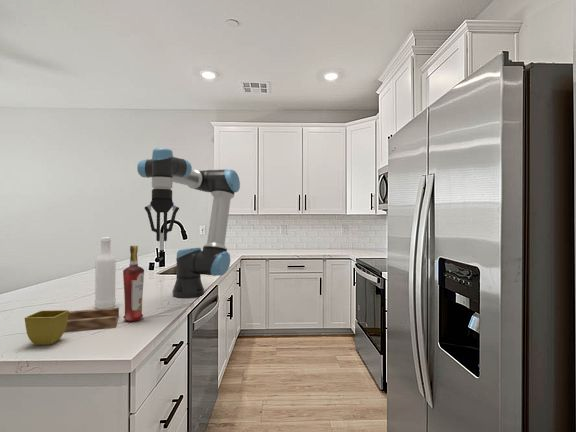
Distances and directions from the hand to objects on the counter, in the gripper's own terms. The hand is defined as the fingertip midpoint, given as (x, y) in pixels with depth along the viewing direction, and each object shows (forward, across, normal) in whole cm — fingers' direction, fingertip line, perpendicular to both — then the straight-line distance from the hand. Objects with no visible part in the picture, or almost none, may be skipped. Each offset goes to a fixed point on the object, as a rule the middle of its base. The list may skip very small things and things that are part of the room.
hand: (161, 249), depth 141 cm
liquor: (+27, +10, 0) cm, 28 cm away
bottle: (+27, +22, -25) cm, 43 cm away
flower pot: (+27, +34, +17) cm, 46 cm away
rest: (+26, +28, 0) cm, 38 cm away
